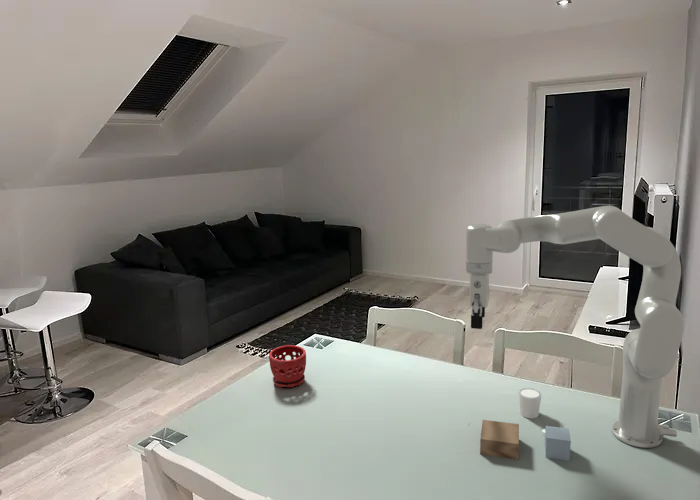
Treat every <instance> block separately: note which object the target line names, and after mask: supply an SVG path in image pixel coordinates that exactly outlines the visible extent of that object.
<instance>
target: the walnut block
mask: <svg viewBox="0 0 700 500" xmlns="http://www.w3.org/2000/svg"><path fill="white" fill-rule="evenodd" d="M479 446H480V448H479V450H480V451H479V455H483V456H490V457H497V458H502V459H510V460H519V455H520V454H519V453H520V450H519V449H520V424H519V423H514V422H513V423H511V422H506V421H505V422H504V421H498V420H487V419H482V423H481V432H480V442H479Z"/></svg>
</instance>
